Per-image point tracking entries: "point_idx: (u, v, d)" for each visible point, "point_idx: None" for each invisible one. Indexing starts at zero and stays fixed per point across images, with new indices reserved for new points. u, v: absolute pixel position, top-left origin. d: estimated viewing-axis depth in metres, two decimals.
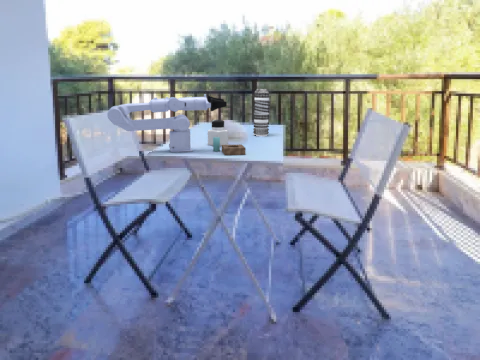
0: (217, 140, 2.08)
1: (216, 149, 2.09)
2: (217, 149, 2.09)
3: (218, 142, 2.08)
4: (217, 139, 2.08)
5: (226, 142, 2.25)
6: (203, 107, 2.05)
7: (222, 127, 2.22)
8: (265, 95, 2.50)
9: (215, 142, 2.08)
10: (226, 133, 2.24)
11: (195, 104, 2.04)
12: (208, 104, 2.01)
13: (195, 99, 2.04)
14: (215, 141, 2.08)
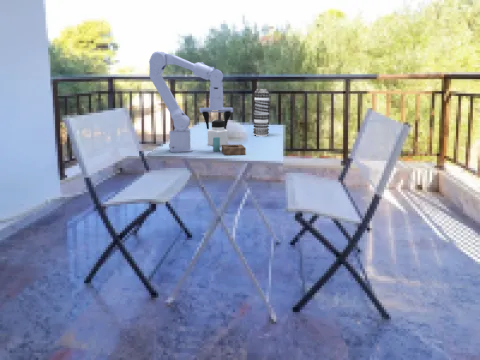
0: (217, 140, 2.08)
1: (216, 149, 2.09)
2: (217, 149, 2.09)
3: (218, 142, 2.08)
4: (217, 139, 2.08)
5: (226, 142, 2.25)
6: None
7: (222, 127, 2.22)
8: (265, 95, 2.50)
9: (215, 142, 2.08)
10: (226, 133, 2.24)
11: (210, 98, 2.04)
12: (200, 110, 2.04)
13: (212, 98, 2.03)
14: (215, 141, 2.08)
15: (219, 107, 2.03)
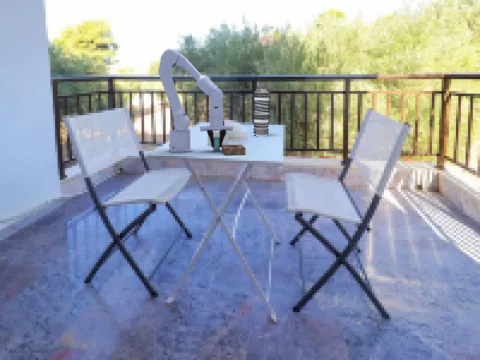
0: (217, 140, 2.08)
1: (216, 149, 2.09)
2: (217, 149, 2.09)
3: (218, 142, 2.08)
4: (217, 139, 2.08)
5: (226, 142, 2.25)
6: None
7: None
8: (265, 95, 2.50)
9: (215, 142, 2.08)
10: (226, 133, 2.24)
11: (210, 117, 2.06)
12: (200, 129, 2.06)
13: (212, 117, 2.05)
14: (215, 141, 2.08)
15: (219, 126, 2.05)
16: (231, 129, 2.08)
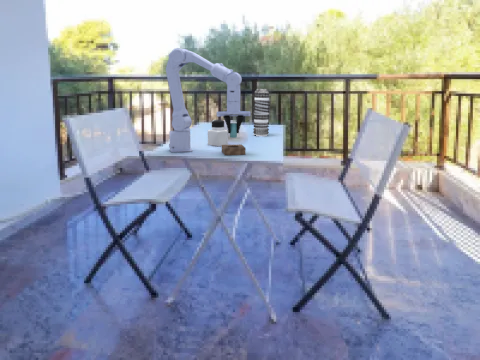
0: (234, 126, 2.01)
1: (233, 135, 2.02)
2: (234, 135, 2.02)
3: (235, 128, 2.02)
4: (234, 125, 2.01)
5: (226, 142, 2.25)
6: None
7: (222, 127, 2.22)
8: (265, 95, 2.50)
9: (232, 128, 2.02)
10: (226, 133, 2.24)
11: (227, 101, 2.00)
12: (217, 114, 2.00)
13: (230, 102, 1.98)
14: (232, 127, 2.01)
15: (236, 111, 1.99)
16: (249, 114, 2.02)
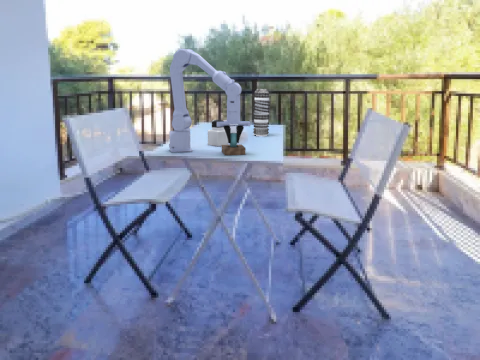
0: (234, 136, 2.02)
1: (233, 145, 2.03)
2: (234, 145, 2.03)
3: (235, 138, 2.03)
4: (234, 135, 2.02)
5: (226, 142, 2.25)
6: None
7: (222, 127, 2.22)
8: (265, 95, 2.50)
9: (232, 138, 2.03)
10: None
11: (227, 111, 2.01)
12: (217, 124, 2.01)
13: (230, 112, 1.99)
14: (232, 137, 2.02)
15: (236, 121, 2.00)
16: (248, 124, 2.03)
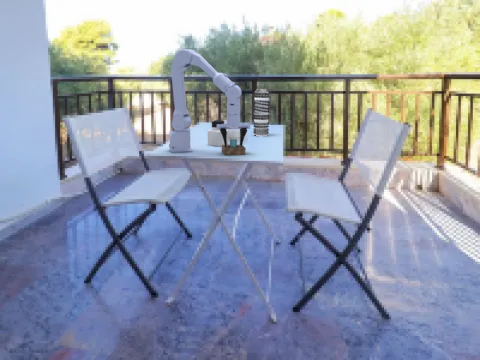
0: (234, 142, 2.03)
1: None
2: None
3: (235, 144, 2.04)
4: (234, 141, 2.03)
5: None
6: None
7: None
8: (265, 95, 2.50)
9: (232, 144, 2.03)
10: None
11: (227, 114, 2.01)
12: (217, 126, 2.01)
13: (230, 115, 1.99)
14: (232, 143, 2.03)
15: (236, 124, 2.00)
16: (248, 127, 2.03)
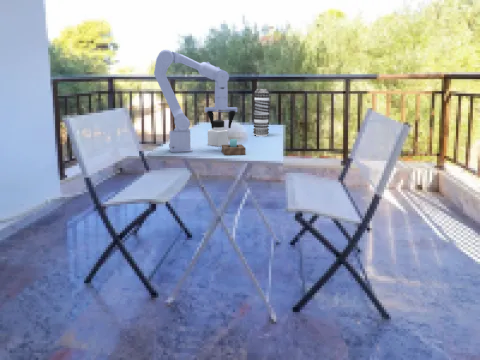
0: (234, 142, 2.03)
1: None
2: None
3: (235, 144, 2.04)
4: (234, 141, 2.03)
5: (226, 142, 2.25)
6: None
7: (222, 127, 2.22)
8: (265, 95, 2.50)
9: (232, 144, 2.03)
10: (226, 133, 2.24)
11: (215, 97, 2.08)
12: (205, 109, 2.08)
13: (217, 98, 2.06)
14: (232, 143, 2.03)
15: (224, 107, 2.07)
16: (236, 110, 2.10)
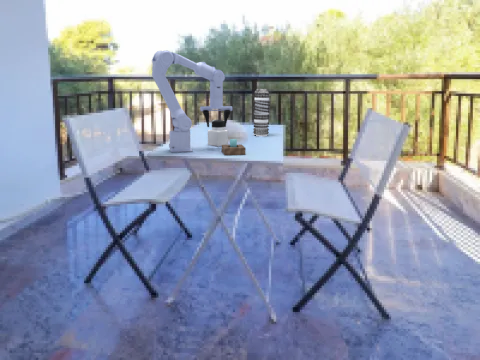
0: (234, 142, 2.03)
1: None
2: None
3: (235, 144, 2.04)
4: (234, 141, 2.03)
5: (226, 142, 2.25)
6: None
7: (222, 127, 2.22)
8: (265, 95, 2.50)
9: (232, 144, 2.03)
10: (226, 133, 2.24)
11: (210, 97, 2.11)
12: (200, 108, 2.11)
13: (212, 97, 2.09)
14: (232, 143, 2.03)
15: (219, 106, 2.10)
16: (231, 109, 2.13)
